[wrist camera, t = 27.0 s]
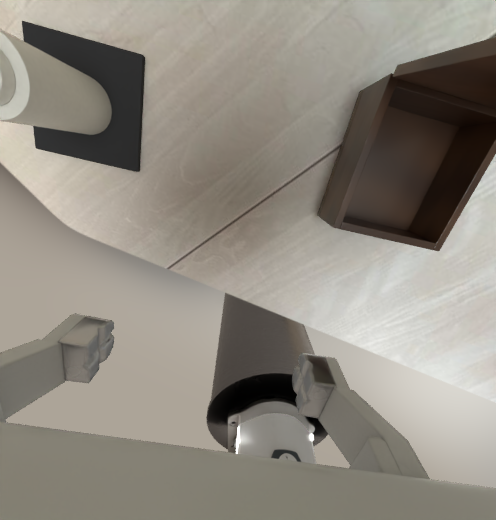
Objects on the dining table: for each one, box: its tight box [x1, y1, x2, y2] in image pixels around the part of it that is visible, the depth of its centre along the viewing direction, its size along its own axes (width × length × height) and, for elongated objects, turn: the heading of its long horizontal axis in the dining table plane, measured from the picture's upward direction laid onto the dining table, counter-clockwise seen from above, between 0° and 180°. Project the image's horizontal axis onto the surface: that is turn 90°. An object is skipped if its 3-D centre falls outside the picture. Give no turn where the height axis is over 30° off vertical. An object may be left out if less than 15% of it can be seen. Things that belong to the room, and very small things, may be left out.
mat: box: [22, 21, 145, 172], centre depth 25 cm, size 11×11×1 cm
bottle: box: [0, 29, 112, 135], centre depth 18 cm, size 5×5×14 cm
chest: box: [318, 73, 496, 251], centre depth 26 cm, size 14×13×6 cm
